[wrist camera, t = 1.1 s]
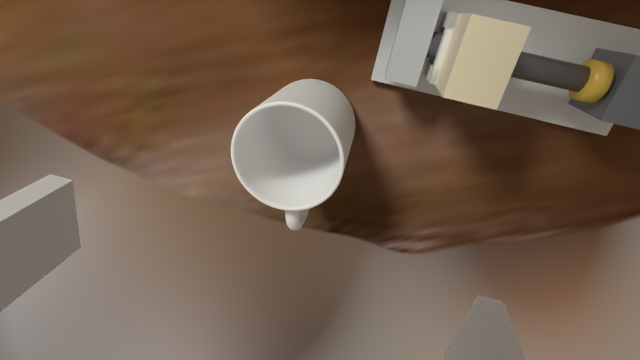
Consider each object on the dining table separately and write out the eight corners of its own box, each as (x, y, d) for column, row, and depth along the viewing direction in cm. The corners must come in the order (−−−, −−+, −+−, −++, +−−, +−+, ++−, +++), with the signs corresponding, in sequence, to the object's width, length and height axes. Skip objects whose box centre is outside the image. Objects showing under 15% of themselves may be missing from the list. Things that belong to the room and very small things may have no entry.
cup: (359, 79, 33) (347, 105, 24) (351, 199, 38) (339, 258, 29) (269, 74, 34) (225, 98, 25) (273, 191, 39) (238, 245, 30)
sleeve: (423, 73, 30) (435, 95, 22) (443, 11, 28) (464, 12, 20) (473, 84, 30) (503, 111, 22) (496, 23, 28) (539, 28, 20)
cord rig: (371, 78, 33) (367, 91, 28) (397, -23, 29) (398, -31, 24) (601, 133, 32) (645, 158, 26) (657, 34, 28) (720, 39, 23)
